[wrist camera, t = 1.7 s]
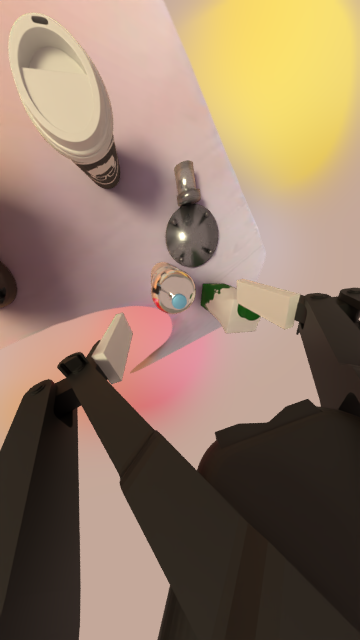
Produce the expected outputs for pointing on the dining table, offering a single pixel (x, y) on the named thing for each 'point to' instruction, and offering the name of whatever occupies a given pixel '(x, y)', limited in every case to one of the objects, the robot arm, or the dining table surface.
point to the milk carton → (228, 308)
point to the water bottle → (171, 288)
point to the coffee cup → (64, 95)
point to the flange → (190, 222)
